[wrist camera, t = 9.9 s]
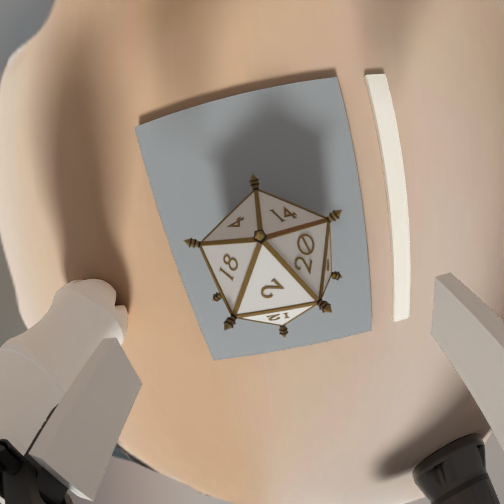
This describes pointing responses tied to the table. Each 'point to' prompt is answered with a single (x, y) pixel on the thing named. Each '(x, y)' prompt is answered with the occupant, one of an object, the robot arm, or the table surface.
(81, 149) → the table surface
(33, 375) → the water bottle
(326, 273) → the game die
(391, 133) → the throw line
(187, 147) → the mat
